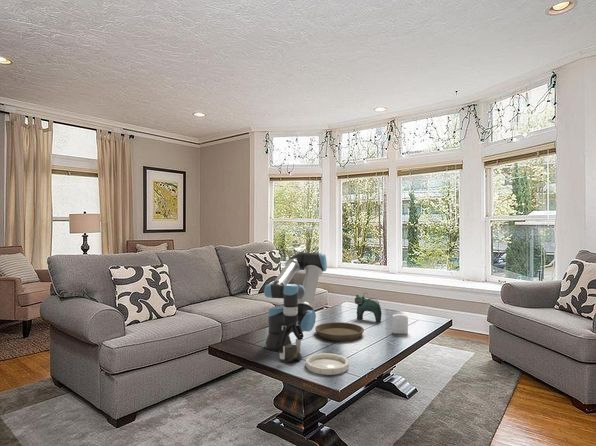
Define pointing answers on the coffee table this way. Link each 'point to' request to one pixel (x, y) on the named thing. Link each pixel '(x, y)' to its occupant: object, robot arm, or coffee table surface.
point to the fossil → (291, 353)
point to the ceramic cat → (368, 307)
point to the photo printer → (400, 324)
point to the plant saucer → (339, 331)
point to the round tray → (327, 364)
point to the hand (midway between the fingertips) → (290, 355)
